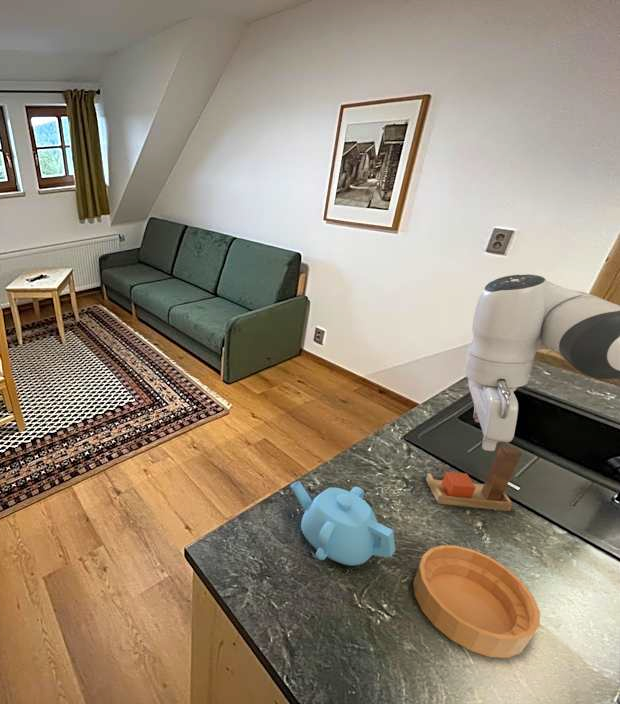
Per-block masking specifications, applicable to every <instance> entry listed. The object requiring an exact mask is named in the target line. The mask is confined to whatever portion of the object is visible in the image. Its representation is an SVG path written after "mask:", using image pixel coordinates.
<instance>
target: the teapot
mask: <svg viewBox="0 0 620 704" xmlns="http://www.w3.org/2000/svg"><path fill="white" fill-rule="evenodd" d="M290 488H291V490H292V492H293V493H294V495H295V498H296V499H297V500H298V502H299V504H300V505H301V507H302V509H303V511H304V513H303V515H302V518H301V522H300V523H301V524H300V529H301V532H302V535H303V536H304V538H305V539H306V540H307V541H308V543H309V544H310V545H311V546H312V547H313V548H314V549H315V550H316V552H315V557H316V558H317V560H319V561H324V560H326V558H327V559H329V560H332V561H334V562H335V563H339V564H342V565H344V566H351V567H352V566H353V567H354V566H360V565H363V564H364V563H366V562H367V561H368V560H369V559H370V558H372V556H376V557H383V558H392V556H393V555H394V553H395V552H396V544H395V535H394V529H392V528H390V527H388V526H386V525H384V524H381V523H379V522H378V519H377V517H376V515H375V512H374V510H373V509H372V507H371V506H370V505H369V503H367V501H365V500H364V499H363V498H364V497H365V496H364V495H365V490H364V489H363V488H362V487H359V486H354V487H352V488H351V490H350V491H349V490H347V489H343V488H340V487H336V486H335V487H328V488H326V489H325V490H323V491H321V492H320V493H319V494H318V495H317V496H316V497H314V498H313V500H312V498H311V497H310V496H309V494H308V492H307V491H306V489H305V487H304V486H303V484H302V483H301V481H295V482H293V483H292V484H290Z"/></svg>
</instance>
